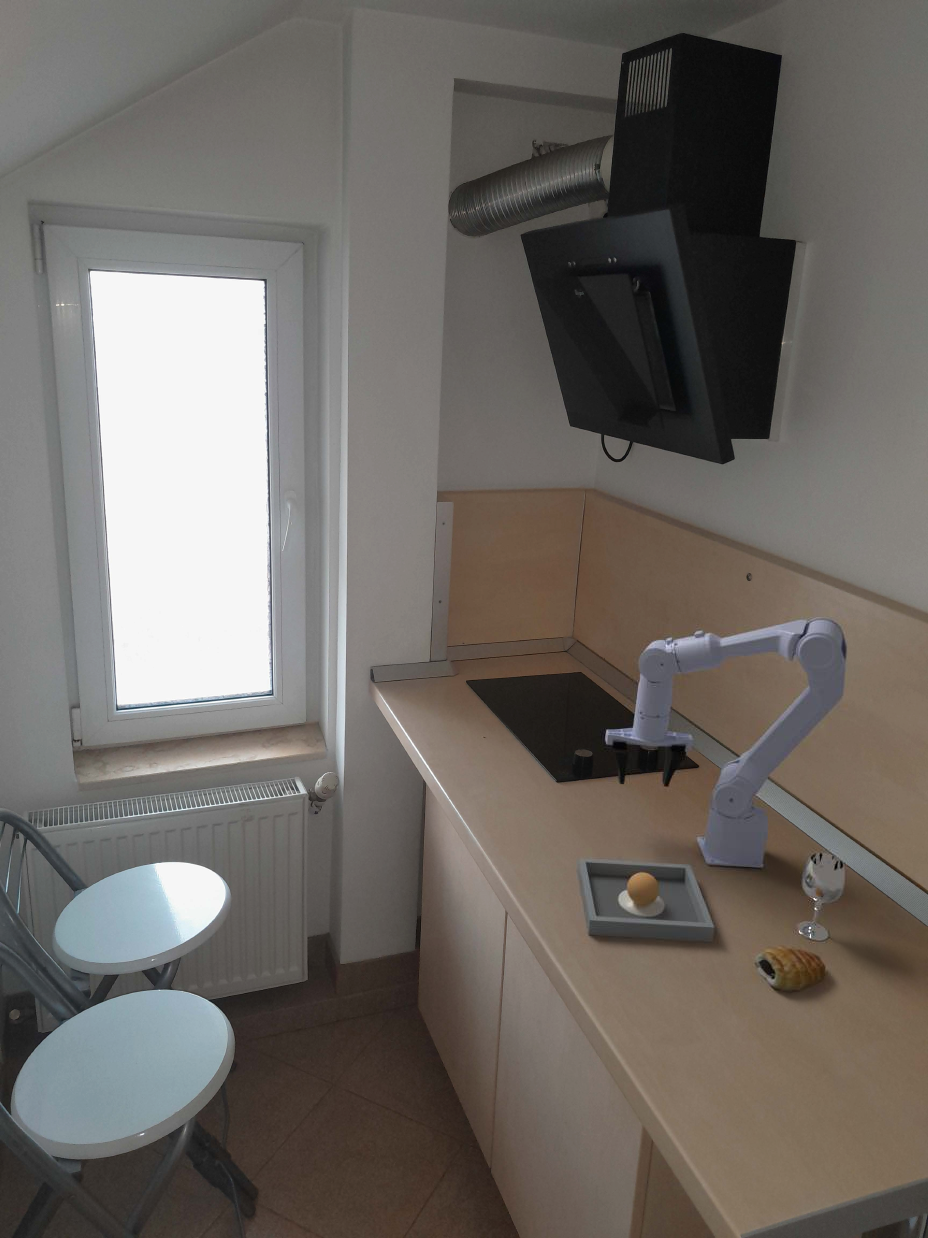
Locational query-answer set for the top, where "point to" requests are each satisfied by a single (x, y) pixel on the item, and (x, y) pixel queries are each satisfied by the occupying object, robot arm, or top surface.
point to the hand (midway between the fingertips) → (643, 782)
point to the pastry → (790, 968)
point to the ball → (643, 888)
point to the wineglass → (821, 889)
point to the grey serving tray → (665, 918)
